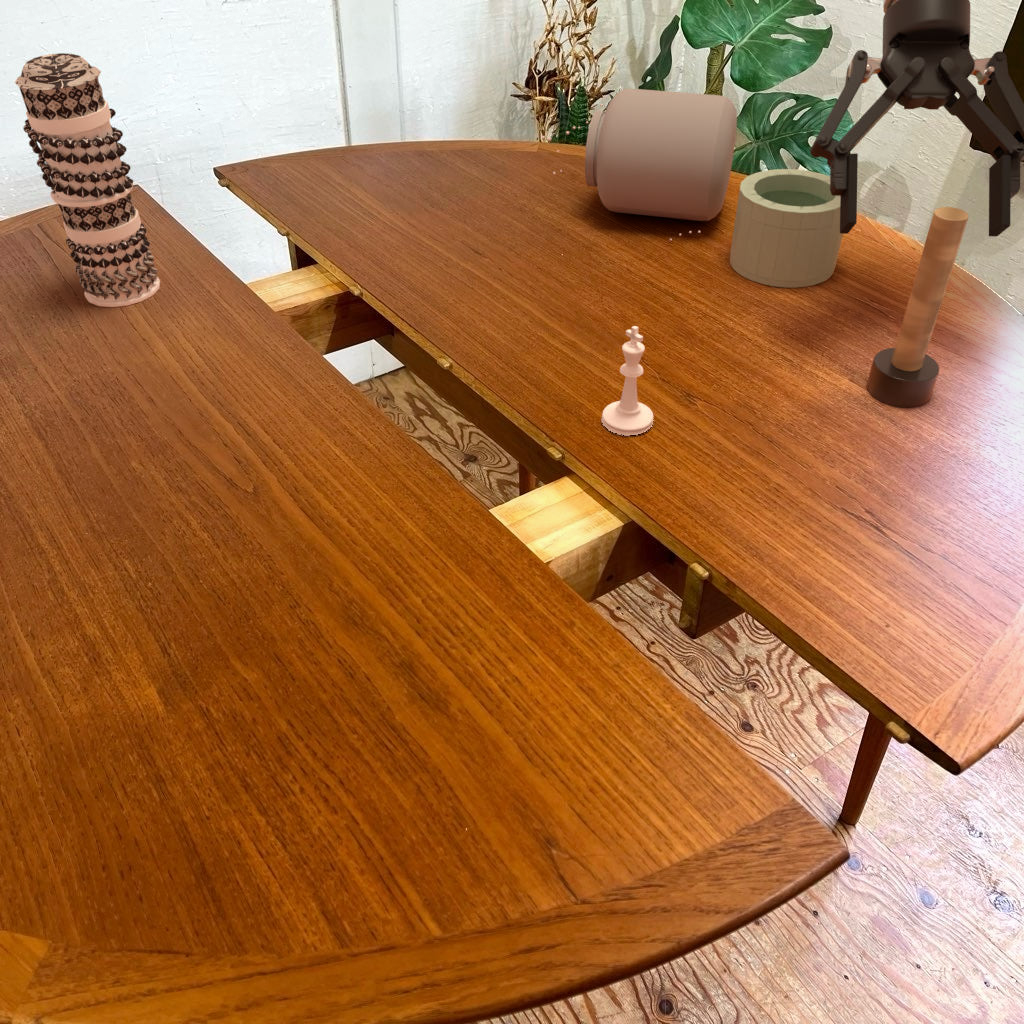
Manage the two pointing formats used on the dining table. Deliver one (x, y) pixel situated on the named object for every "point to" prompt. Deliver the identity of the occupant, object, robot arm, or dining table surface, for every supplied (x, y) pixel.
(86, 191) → the decorative candle
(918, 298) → the brush
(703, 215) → the jar
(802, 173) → the gray beige cylindrical container
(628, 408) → the chess piece
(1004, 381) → the dining table surface
